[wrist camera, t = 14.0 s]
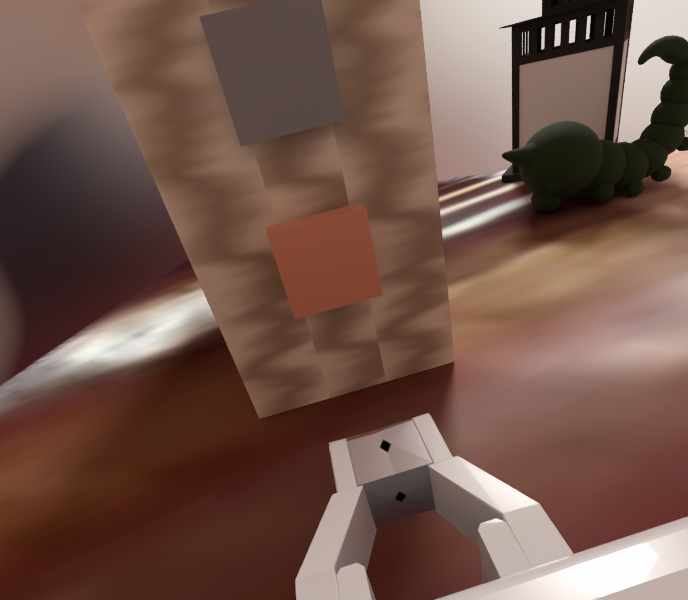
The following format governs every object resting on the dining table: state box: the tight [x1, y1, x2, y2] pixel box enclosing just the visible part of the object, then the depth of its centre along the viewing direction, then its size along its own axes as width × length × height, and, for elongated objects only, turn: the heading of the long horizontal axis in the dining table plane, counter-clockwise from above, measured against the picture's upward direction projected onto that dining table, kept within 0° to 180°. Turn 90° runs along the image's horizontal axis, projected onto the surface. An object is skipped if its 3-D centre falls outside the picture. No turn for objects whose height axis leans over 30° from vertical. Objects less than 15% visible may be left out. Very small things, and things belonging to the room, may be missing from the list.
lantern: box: [501, 0, 634, 182], centre depth 62 cm, size 17×17×35 cm
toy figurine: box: [502, 36, 688, 212], centre depth 50 cm, size 9×19×25 cm
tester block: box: [75, 0, 454, 419], centre depth 27 cm, size 16×6×27 cm, turn 100°
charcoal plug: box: [199, 0, 345, 146], centre depth 23 cm, size 6×9×6 cm, turn 10°
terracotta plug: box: [267, 203, 383, 320], centre depth 27 cm, size 6×9×6 cm, turn 10°
